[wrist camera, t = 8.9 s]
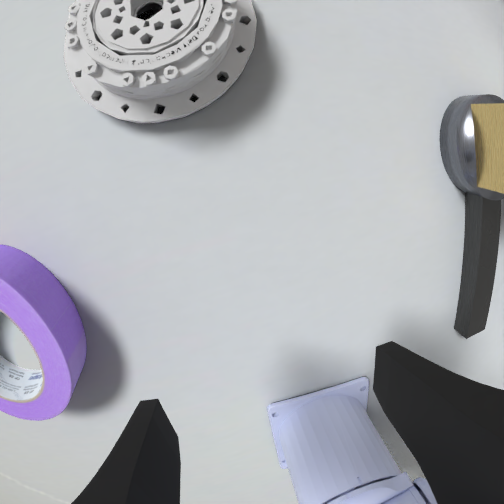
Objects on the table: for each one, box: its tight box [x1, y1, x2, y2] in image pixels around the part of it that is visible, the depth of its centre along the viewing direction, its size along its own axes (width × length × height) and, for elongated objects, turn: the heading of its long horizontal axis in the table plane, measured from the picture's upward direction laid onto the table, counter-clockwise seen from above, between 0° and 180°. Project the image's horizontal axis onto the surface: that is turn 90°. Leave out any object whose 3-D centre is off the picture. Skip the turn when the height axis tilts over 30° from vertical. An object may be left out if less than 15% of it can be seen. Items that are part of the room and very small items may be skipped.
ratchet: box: [440, 95, 504, 339], centre depth 17 cm, size 19×7×6 cm, turn 10°
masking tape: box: [0, 245, 87, 420], centre depth 15 cm, size 12×12×4 cm
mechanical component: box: [64, 0, 257, 123], centre depth 11 cm, size 10×4×10 cm
